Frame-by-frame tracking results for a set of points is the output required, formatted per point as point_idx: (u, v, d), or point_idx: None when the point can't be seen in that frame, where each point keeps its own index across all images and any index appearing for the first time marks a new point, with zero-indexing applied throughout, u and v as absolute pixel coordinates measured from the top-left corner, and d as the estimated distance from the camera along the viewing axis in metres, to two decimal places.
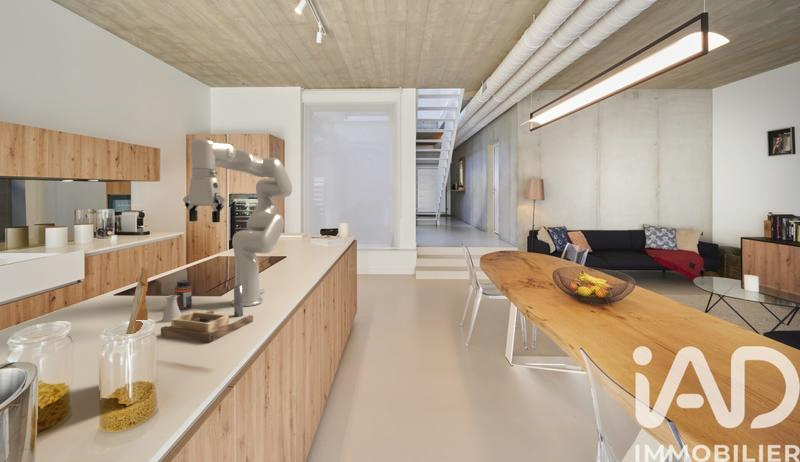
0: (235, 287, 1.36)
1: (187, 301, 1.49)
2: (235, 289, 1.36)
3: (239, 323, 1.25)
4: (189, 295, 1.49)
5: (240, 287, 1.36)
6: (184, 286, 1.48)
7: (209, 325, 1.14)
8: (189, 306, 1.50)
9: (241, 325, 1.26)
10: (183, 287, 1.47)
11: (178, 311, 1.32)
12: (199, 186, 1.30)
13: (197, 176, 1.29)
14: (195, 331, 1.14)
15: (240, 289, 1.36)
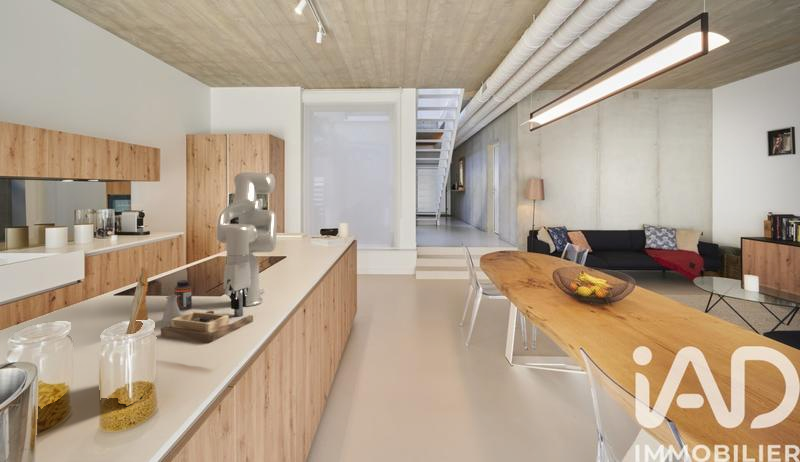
0: None
1: (187, 301, 1.49)
2: None
3: (239, 323, 1.25)
4: (189, 295, 1.49)
5: None
6: (184, 286, 1.48)
7: (209, 325, 1.14)
8: (189, 306, 1.50)
9: (241, 325, 1.26)
10: (183, 287, 1.47)
11: (178, 311, 1.32)
12: (244, 271, 1.36)
13: (247, 262, 1.36)
14: (195, 331, 1.14)
15: None
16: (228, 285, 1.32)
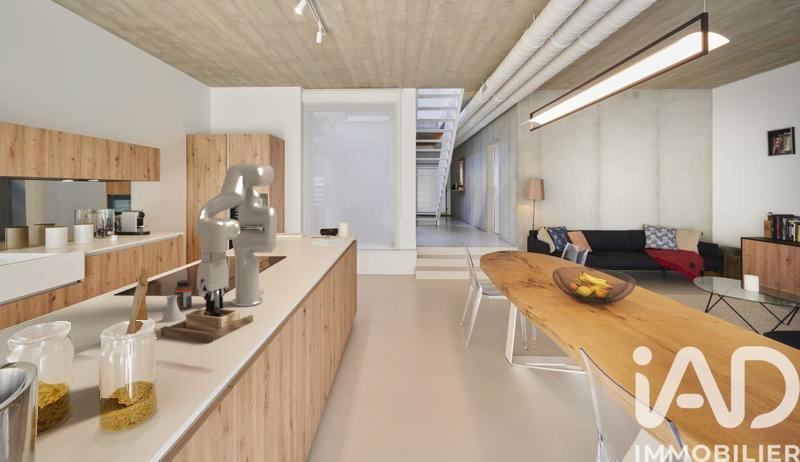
0: None
1: (187, 301, 1.49)
2: None
3: (239, 323, 1.25)
4: (189, 295, 1.49)
5: None
6: (184, 286, 1.48)
7: (222, 319, 1.20)
8: (189, 306, 1.50)
9: (241, 325, 1.26)
10: (183, 287, 1.47)
11: (178, 311, 1.32)
12: (220, 270, 1.24)
13: (224, 260, 1.24)
14: (195, 331, 1.14)
15: None
16: (202, 285, 1.20)
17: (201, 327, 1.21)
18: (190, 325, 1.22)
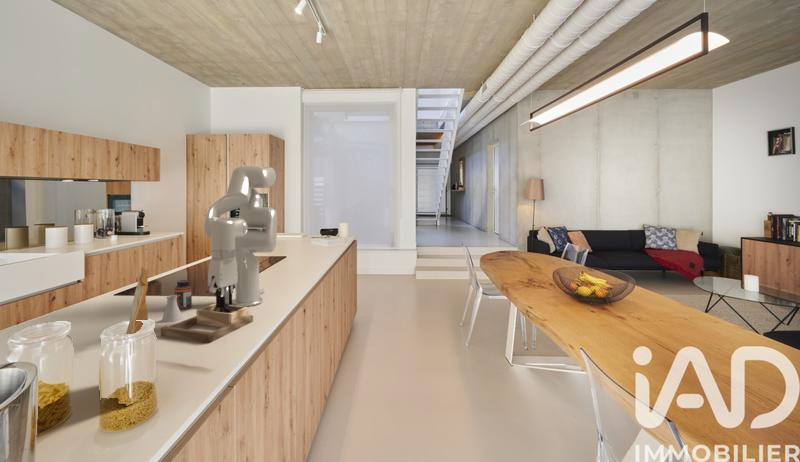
0: None
1: (187, 301, 1.49)
2: None
3: (239, 323, 1.25)
4: (189, 295, 1.49)
5: None
6: (184, 286, 1.48)
7: (232, 315, 1.24)
8: (189, 306, 1.50)
9: (241, 325, 1.26)
10: (183, 287, 1.47)
11: (178, 311, 1.32)
12: (230, 267, 1.29)
13: (233, 257, 1.29)
14: (195, 331, 1.14)
15: None
16: (213, 282, 1.24)
17: (211, 322, 1.26)
18: (201, 321, 1.27)
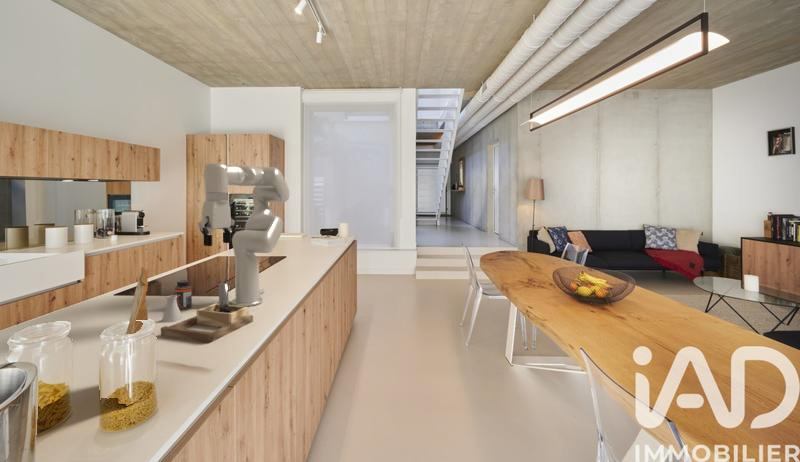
0: (220, 285, 1.28)
1: (187, 301, 1.49)
2: (220, 288, 1.28)
3: (239, 323, 1.25)
4: (189, 295, 1.49)
5: (225, 285, 1.29)
6: (184, 286, 1.48)
7: (232, 315, 1.24)
8: (189, 306, 1.50)
9: (241, 325, 1.26)
10: (183, 287, 1.47)
11: (178, 311, 1.32)
12: (223, 210, 1.34)
13: (226, 200, 1.34)
14: (195, 331, 1.14)
15: (225, 287, 1.29)
16: (204, 218, 1.29)
17: (212, 322, 1.26)
18: (201, 321, 1.27)
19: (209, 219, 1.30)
